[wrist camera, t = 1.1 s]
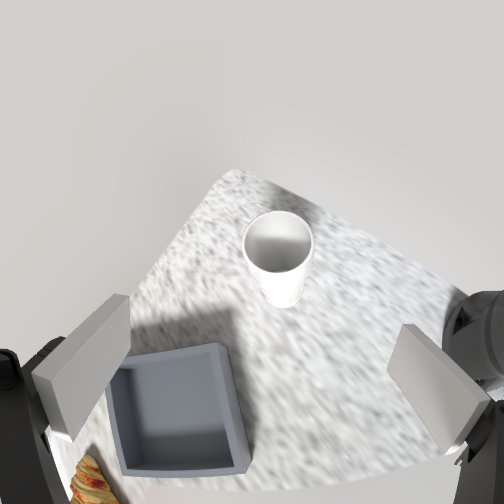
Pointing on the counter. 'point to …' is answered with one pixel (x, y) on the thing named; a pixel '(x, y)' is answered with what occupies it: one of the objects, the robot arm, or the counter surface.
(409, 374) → the robot arm
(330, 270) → the counter surface
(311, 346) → the counter surface
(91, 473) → the croissant
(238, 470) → the bin
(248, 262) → the white plastic tumbler
